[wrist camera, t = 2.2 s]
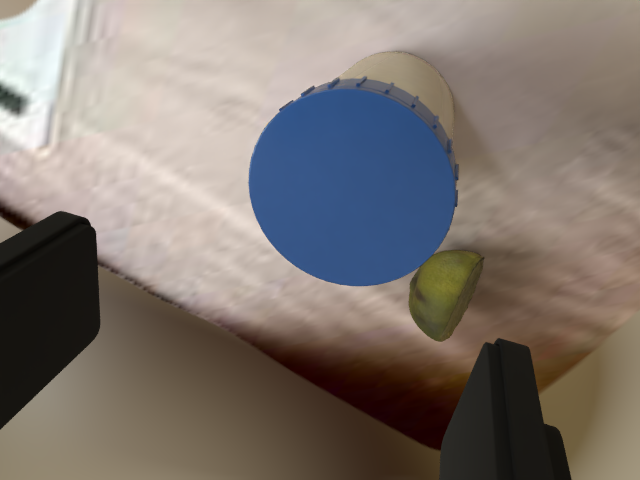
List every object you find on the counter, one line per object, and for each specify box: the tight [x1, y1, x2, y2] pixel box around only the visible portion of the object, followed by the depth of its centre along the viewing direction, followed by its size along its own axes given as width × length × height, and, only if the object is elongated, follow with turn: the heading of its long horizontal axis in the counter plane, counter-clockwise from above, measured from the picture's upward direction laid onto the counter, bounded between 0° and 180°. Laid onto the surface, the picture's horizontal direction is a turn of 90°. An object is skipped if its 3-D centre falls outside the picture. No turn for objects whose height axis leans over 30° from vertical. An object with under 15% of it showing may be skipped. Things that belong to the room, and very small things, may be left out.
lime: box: [409, 250, 484, 342], centre depth 27 cm, size 4×5×5 cm
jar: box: [337, 52, 454, 140], centre depth 21 cm, size 6×6×11 cm
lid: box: [249, 76, 459, 286], centre depth 17 cm, size 7×7×2 cm
